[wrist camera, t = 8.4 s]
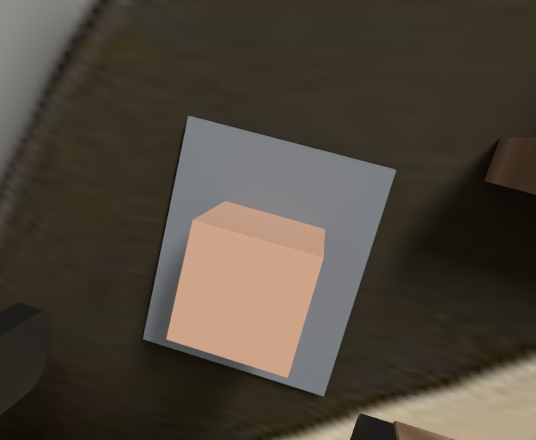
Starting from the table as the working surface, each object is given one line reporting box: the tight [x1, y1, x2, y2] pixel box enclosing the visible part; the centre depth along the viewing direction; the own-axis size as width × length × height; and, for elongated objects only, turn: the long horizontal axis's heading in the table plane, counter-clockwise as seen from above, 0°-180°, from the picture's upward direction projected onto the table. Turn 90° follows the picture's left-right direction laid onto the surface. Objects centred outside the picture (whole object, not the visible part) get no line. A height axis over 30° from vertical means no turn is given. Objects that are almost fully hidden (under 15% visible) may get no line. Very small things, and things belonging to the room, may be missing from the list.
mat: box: [143, 116, 396, 396], centre depth 21 cm, size 10×12×1 cm
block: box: [166, 201, 325, 378], centre depth 18 cm, size 5×5×5 cm
